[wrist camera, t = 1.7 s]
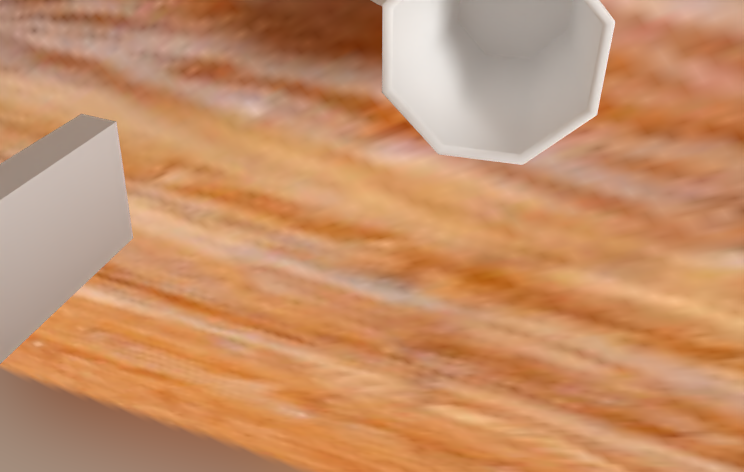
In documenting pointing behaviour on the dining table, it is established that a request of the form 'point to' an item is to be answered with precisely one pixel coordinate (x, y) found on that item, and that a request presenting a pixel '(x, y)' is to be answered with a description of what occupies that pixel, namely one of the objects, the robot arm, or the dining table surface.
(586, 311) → the dining table surface
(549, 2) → the cup
